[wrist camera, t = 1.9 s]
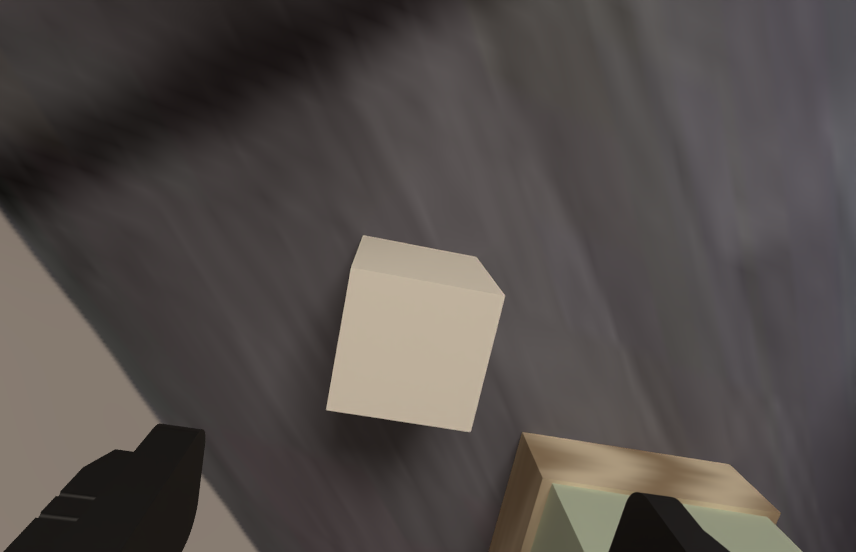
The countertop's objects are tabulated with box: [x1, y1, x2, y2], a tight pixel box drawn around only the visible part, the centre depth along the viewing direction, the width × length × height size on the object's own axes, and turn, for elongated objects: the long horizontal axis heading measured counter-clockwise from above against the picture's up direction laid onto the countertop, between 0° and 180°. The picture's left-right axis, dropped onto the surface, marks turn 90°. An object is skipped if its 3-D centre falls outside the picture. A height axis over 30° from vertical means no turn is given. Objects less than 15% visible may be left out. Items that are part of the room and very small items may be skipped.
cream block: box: [326, 235, 505, 432], centre depth 19 cm, size 5×5×6 cm
